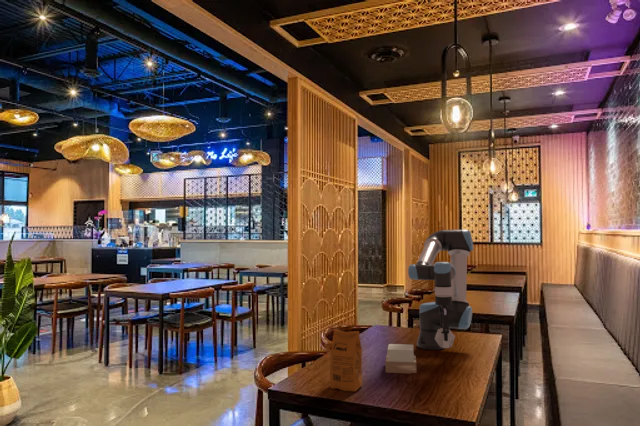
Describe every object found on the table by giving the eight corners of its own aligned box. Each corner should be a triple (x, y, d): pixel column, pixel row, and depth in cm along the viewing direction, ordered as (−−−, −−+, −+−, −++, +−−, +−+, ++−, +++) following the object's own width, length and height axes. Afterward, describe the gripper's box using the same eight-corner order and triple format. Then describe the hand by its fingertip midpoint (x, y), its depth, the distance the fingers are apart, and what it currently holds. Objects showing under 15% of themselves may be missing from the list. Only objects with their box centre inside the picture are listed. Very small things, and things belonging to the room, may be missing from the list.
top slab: (389, 354, 204) (388, 343, 205) (413, 355, 202) (413, 344, 202) (387, 361, 194) (387, 349, 194) (413, 362, 191) (413, 350, 192)
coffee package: (337, 381, 181) (337, 326, 183) (365, 386, 175) (364, 329, 177) (325, 388, 173) (325, 331, 174) (354, 393, 167) (353, 334, 168)
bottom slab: (387, 365, 206) (386, 354, 206) (415, 366, 203) (415, 355, 203) (385, 373, 193) (385, 361, 193) (416, 374, 190) (416, 362, 191)
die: (451, 351, 199) (460, 332, 202) (434, 341, 200) (442, 322, 204) (446, 353, 206) (455, 334, 210) (429, 343, 208) (438, 325, 211)
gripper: (433, 292, 217) (434, 339, 216) (436, 299, 196) (438, 351, 195) (449, 292, 216) (450, 339, 215) (454, 299, 194) (456, 351, 193)
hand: (445, 345), depth 205 cm, fingers closed on die, 9 cm apart
